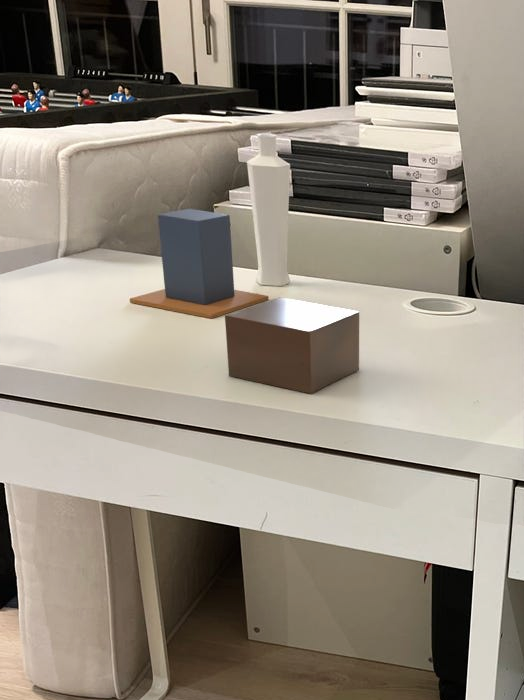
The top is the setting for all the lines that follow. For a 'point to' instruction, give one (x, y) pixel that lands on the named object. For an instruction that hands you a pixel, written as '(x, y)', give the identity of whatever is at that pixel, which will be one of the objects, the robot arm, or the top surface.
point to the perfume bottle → (270, 211)
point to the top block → (196, 256)
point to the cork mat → (207, 311)
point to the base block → (292, 344)
